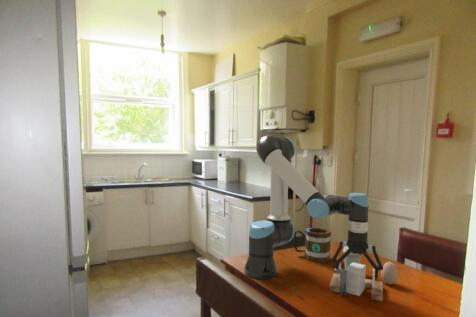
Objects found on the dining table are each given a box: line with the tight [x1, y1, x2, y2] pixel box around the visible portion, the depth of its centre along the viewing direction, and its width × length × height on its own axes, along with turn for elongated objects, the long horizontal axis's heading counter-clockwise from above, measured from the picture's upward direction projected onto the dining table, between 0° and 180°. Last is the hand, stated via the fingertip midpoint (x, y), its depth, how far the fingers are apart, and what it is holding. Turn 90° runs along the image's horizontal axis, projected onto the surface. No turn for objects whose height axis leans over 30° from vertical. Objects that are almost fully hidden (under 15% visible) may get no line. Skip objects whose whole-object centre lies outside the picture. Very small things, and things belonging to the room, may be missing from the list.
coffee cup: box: [342, 245, 362, 270], centre depth 149 cm, size 8×8×12 cm
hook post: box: [332, 268, 347, 298], centre depth 126 cm, size 5×2×10 cm, turn 66°
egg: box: [380, 261, 399, 286], centre depth 137 cm, size 7×7×10 cm
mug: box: [293, 227, 332, 263], centre depth 170 cm, size 20×14×15 cm
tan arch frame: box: [328, 272, 384, 302], centre depth 131 cm, size 20×14×2 cm
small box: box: [346, 262, 367, 297], centre depth 129 cm, size 8×6×10 cm
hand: (356, 282), depth 129 cm, fingers open, 12 cm apart
